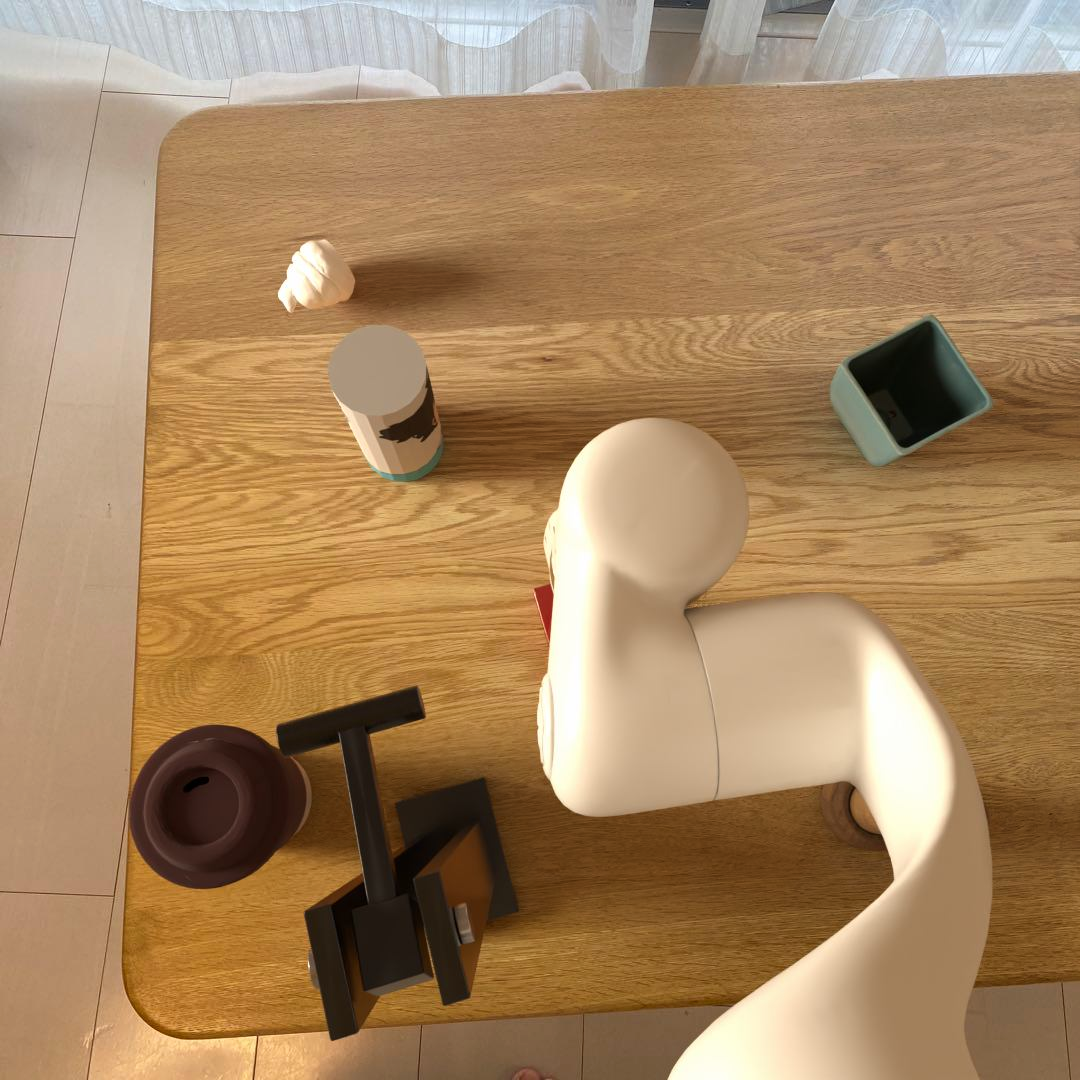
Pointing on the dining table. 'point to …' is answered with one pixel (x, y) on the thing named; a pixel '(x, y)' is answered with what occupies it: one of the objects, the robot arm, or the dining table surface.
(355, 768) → the t-handle lever
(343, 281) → the garlic bulb
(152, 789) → the coffee cup
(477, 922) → the lever bracket
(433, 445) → the beige cylindrical canister
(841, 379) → the flower pot
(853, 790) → the mortar and pestle
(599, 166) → the dining table surface
